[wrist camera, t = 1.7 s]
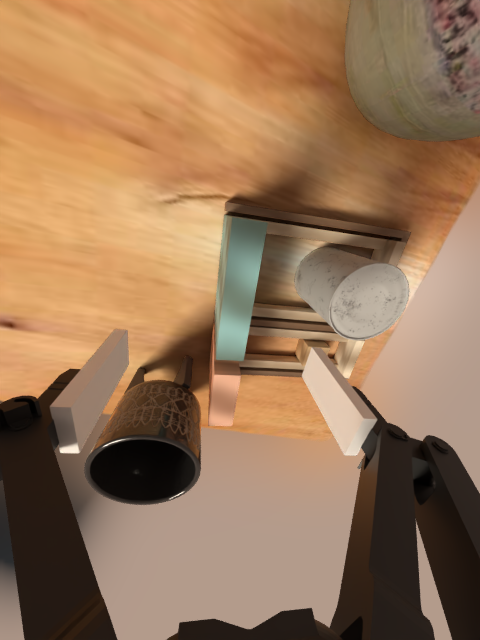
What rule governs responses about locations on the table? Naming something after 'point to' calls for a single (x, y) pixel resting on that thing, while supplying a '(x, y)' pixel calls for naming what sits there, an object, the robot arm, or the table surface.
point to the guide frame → (291, 323)
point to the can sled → (243, 270)
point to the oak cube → (309, 348)
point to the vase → (416, 66)
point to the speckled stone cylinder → (352, 292)
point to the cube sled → (228, 372)
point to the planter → (149, 442)
